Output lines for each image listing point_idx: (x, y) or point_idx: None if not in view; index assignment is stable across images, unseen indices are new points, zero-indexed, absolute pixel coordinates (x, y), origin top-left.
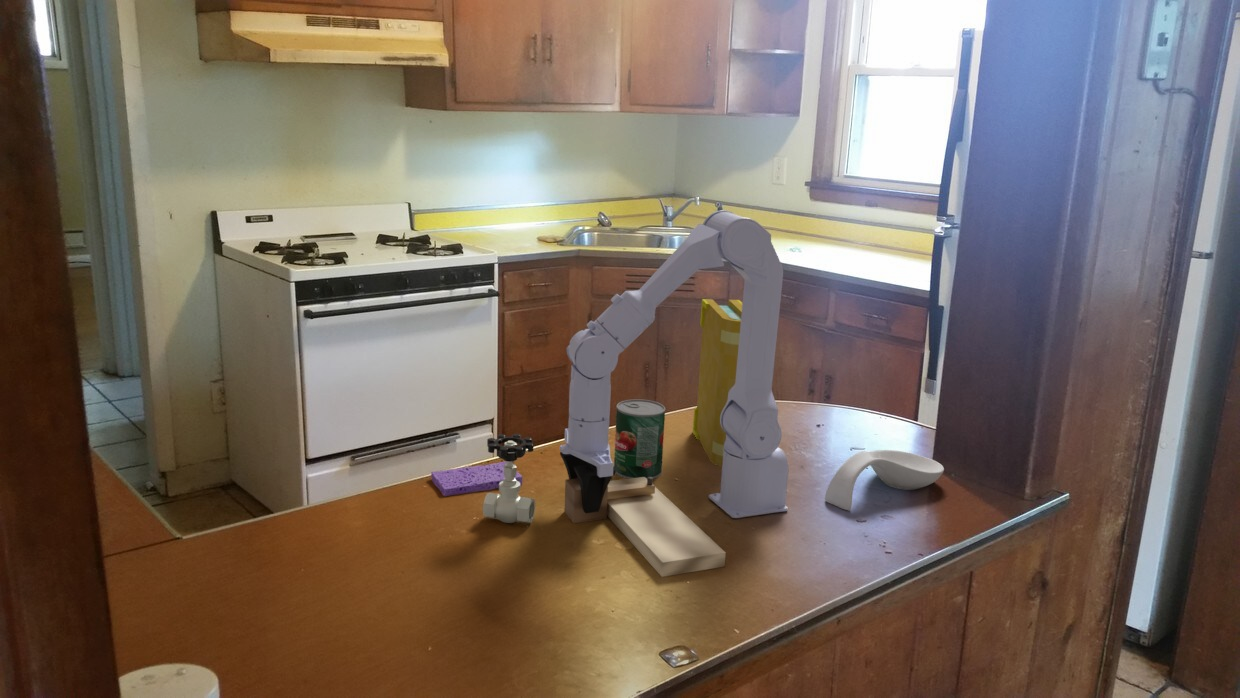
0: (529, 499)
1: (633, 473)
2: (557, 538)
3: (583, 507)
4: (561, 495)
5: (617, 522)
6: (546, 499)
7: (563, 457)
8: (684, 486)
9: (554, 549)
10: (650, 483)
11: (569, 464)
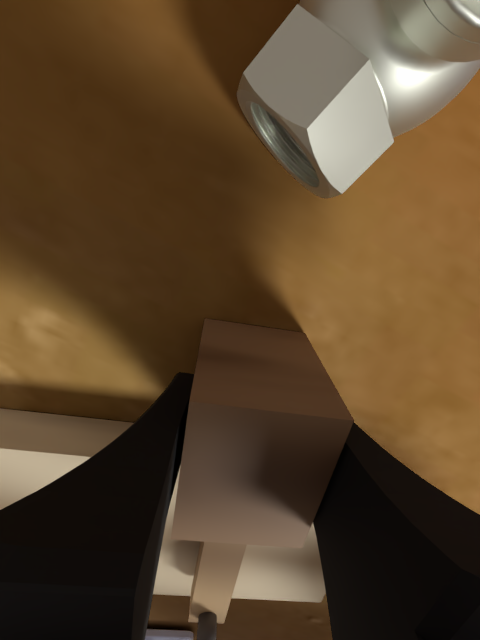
0: (302, 112)
1: None
2: (106, 199)
3: (184, 380)
4: (418, 380)
5: (120, 432)
6: (427, 323)
7: (476, 575)
8: (272, 617)
9: (6, 131)
10: (199, 623)
11: (399, 531)
